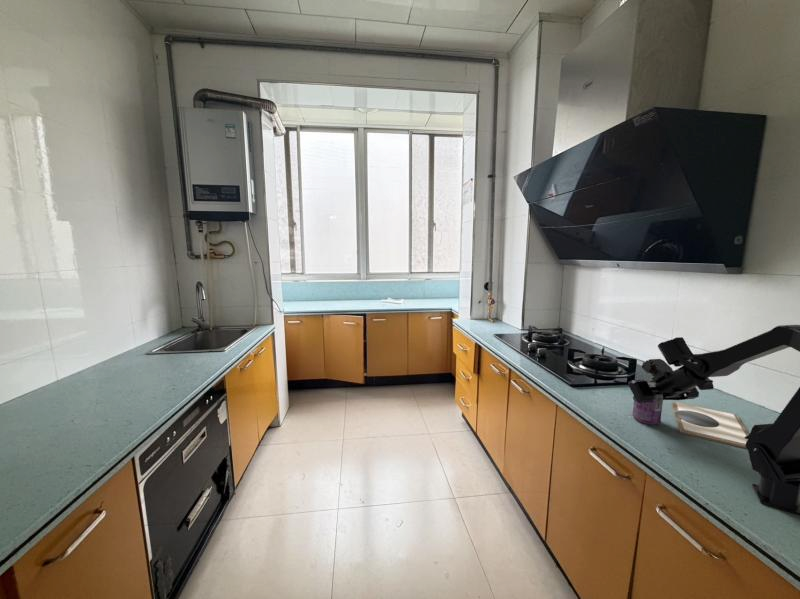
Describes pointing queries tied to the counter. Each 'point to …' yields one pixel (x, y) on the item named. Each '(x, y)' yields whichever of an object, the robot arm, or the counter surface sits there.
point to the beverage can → (649, 409)
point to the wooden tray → (710, 424)
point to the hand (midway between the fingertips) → (644, 398)
